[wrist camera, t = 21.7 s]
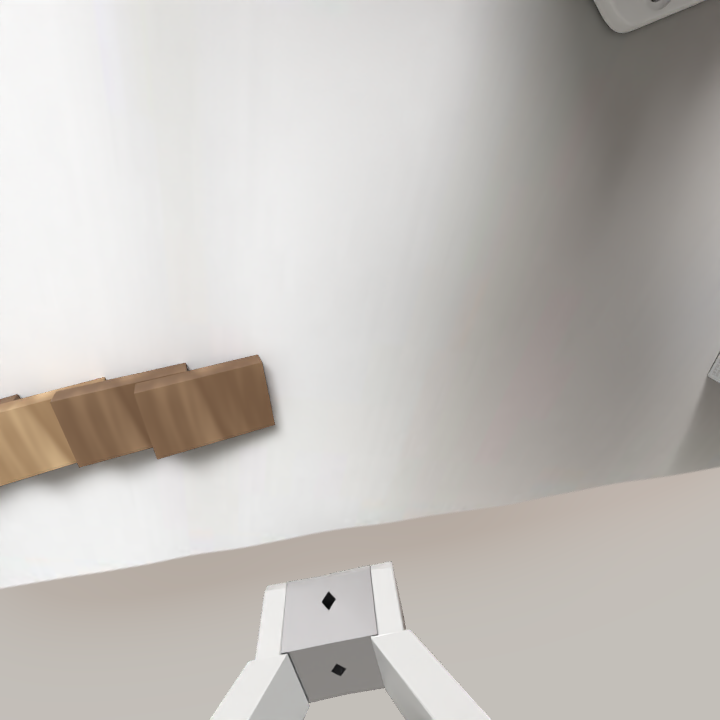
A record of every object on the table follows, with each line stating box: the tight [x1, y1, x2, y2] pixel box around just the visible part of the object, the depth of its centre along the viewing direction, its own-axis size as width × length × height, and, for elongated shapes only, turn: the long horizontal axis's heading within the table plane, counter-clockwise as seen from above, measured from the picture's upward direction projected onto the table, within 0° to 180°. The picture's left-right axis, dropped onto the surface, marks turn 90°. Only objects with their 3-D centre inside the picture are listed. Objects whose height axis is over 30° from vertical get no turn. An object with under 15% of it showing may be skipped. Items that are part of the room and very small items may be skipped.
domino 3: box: [134, 355, 275, 459], centre depth 29 cm, size 2×5×8 cm
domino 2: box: [50, 363, 188, 467], centre depth 29 cm, size 2×5×8 cm
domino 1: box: [0, 377, 106, 486], centre depth 29 cm, size 2×5×8 cm
